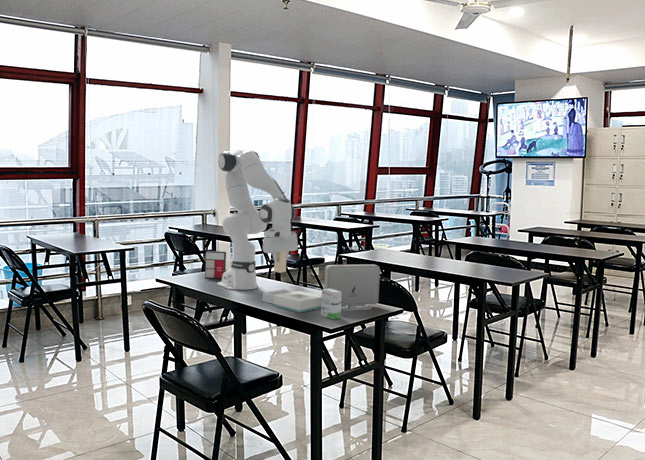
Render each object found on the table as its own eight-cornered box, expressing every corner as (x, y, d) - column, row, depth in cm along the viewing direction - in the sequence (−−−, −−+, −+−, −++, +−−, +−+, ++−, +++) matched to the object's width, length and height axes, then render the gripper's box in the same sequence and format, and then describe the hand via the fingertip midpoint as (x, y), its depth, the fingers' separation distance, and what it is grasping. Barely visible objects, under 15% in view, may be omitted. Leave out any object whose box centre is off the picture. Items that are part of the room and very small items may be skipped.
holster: (262, 301, 282) (262, 292, 282) (283, 297, 292) (283, 289, 292) (274, 304, 277) (274, 295, 276) (295, 299, 287) (295, 291, 287)
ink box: (341, 318, 254) (342, 291, 253) (332, 319, 252) (333, 292, 250) (329, 314, 261) (330, 287, 260) (320, 315, 258) (321, 288, 257)
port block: (274, 306, 272) (274, 295, 272) (298, 301, 284) (298, 291, 284) (299, 312, 262) (299, 301, 261) (323, 307, 274) (323, 296, 273)
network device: (327, 311, 267) (329, 267, 265) (321, 306, 275) (323, 264, 273) (380, 309, 275) (382, 266, 273) (372, 304, 283) (374, 263, 281)
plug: (274, 271, 283) (274, 250, 282) (280, 270, 286) (280, 250, 285) (279, 272, 280) (280, 251, 279) (285, 271, 283) (286, 251, 282)
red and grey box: (204, 278, 334) (205, 251, 332) (206, 276, 338) (206, 250, 336) (224, 279, 333) (224, 252, 332) (225, 277, 338) (226, 251, 336)
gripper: (292, 230, 291) (290, 258, 293) (261, 232, 276) (260, 262, 277) (301, 231, 287) (300, 260, 288) (270, 234, 272) (269, 263, 273)
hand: (280, 261), depth 283 cm, fingers closed on plug, 4 cm apart
